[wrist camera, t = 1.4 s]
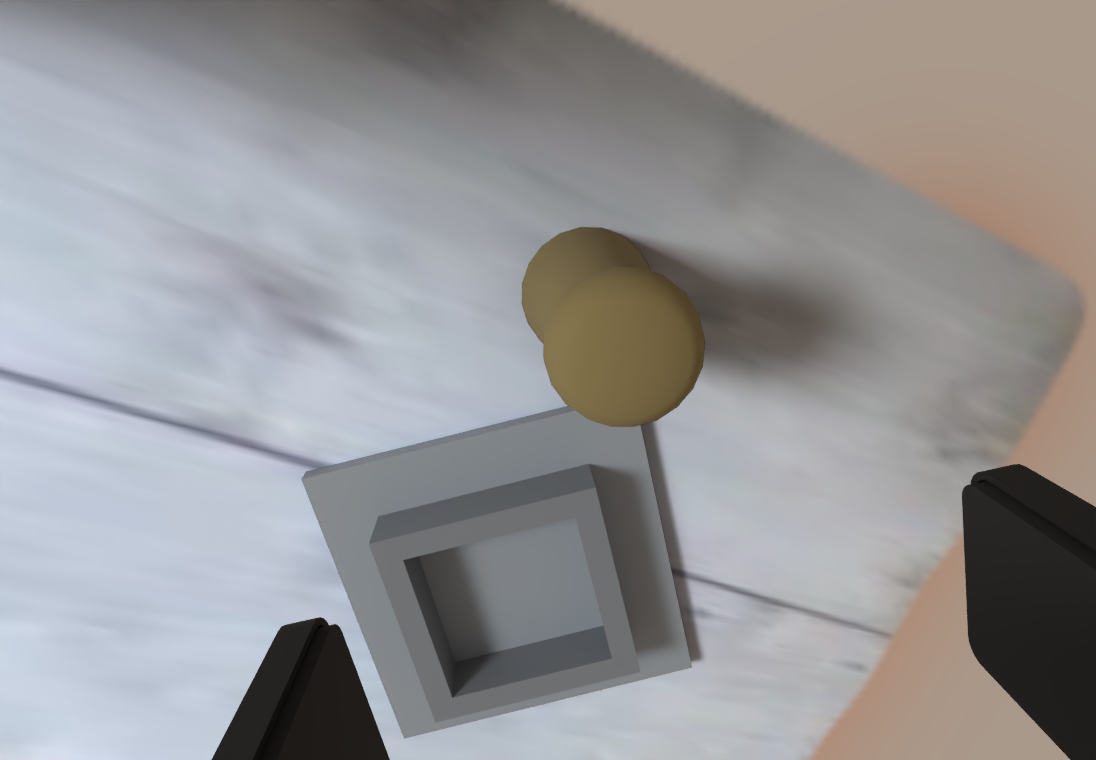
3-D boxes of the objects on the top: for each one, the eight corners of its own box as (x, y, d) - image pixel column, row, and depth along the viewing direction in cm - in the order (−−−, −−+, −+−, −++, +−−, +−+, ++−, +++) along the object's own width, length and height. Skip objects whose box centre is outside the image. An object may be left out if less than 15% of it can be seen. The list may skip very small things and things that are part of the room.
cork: (556, 380, 32) (583, 485, 22) (498, 264, 30) (497, 317, 20) (673, 323, 32) (759, 404, 21) (622, 202, 30) (688, 225, 19)
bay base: (306, 471, 33) (285, 504, 29) (630, 390, 32) (644, 414, 29) (406, 726, 38) (397, 778, 34) (687, 656, 37) (705, 702, 34)
